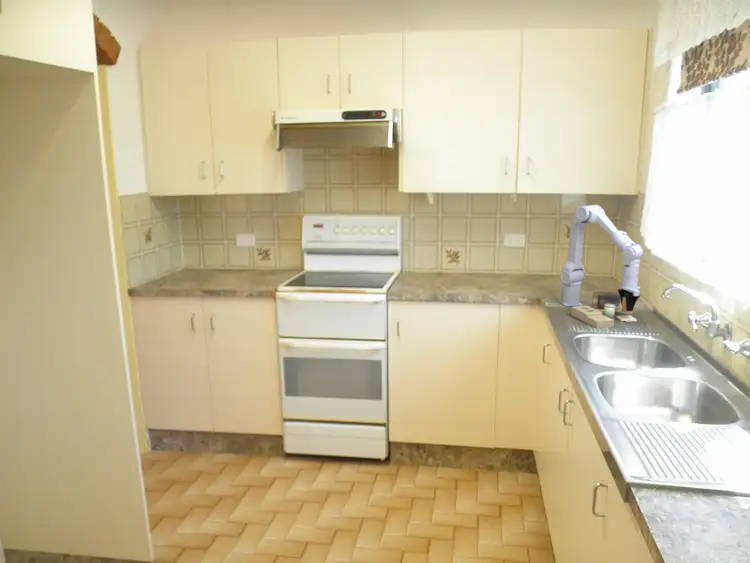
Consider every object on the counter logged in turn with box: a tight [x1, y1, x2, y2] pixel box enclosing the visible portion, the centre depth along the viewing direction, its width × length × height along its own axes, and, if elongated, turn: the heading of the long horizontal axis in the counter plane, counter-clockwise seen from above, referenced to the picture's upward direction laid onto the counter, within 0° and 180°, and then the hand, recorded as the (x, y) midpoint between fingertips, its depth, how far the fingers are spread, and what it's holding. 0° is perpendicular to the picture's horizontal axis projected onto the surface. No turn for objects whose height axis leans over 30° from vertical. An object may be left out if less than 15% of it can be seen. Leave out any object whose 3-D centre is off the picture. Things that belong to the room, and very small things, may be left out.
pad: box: [615, 315, 638, 323], centre depth 230 cm, size 6×6×1 cm
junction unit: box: [591, 290, 622, 313], centre depth 241 cm, size 5×12×8 cm, turn 89°
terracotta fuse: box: [621, 297, 634, 315], centre depth 228 cm, size 4×4×6 cm
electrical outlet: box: [571, 305, 615, 329], centre depth 228 cm, size 7×4×18 cm
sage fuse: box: [603, 303, 616, 321], centre depth 230 cm, size 4×4×6 cm
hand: (627, 309), depth 229 cm, fingers closed on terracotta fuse, 4 cm apart
